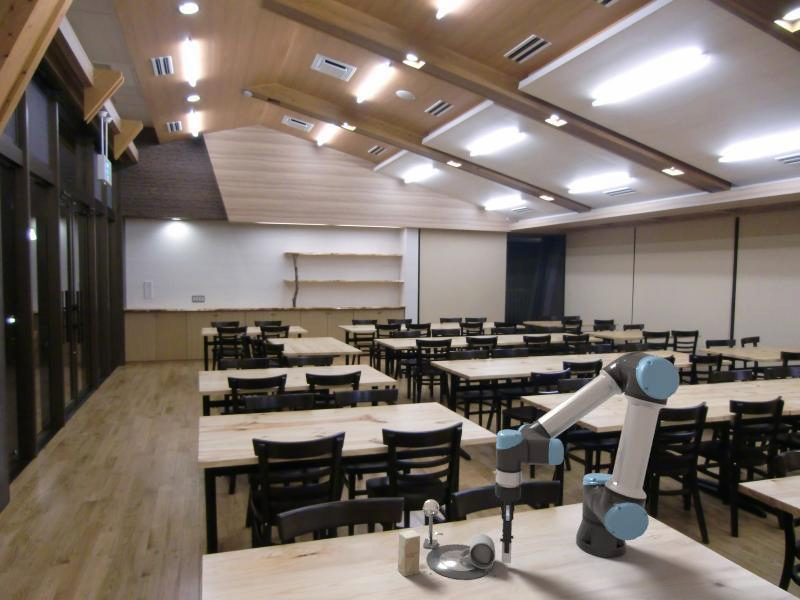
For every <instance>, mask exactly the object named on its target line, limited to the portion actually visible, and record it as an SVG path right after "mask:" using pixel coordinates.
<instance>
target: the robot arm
mask: <svg viewBox="0 0 800 600" xmlns="http://www.w3.org/2000/svg"><path fill="white" fill-rule="evenodd" d="M679 385H680V374H679V371H678V369H677V367H676V366H675V365H674V363H672V362H671V361H670V360H668V359H666V358H664V357H662V356H658V355H656V354H655V355H654V354H650V353H647V352H646V353H645V352H643V351H630V352H628V353H625V354H622V355H621V356H618V357H617V358H616V359H614V360H613V361H611V362H610V363H609V364H607V365H605V366H604V367H603V368H601V369H600V370H599V374H598V375H597V376H596V377H594V378H593V379H592V380H590V381H589V382H588V383H586V384H585V385H584V386H582V387H581V388H580V389H578V390H577V391H575V392H574V393H573V394H571V395H570V396H568V397H567V398H565V400H563V401H562V402H560V403H559V404H558V405H556V406H554V407H553V408H552V409H551V410H549V411H548V412H546V413H545V414H544V415H542V416H541V417H540V418H538V419H536V420H535V421H534V422H532V423H526V424H523V425H521V426H520V427H518V430H515V429H501V430H499V431H498V432H497V435H496V444H495V449H496V450H495V470H493V475H495V484H494V485H495V486H494V490H495V491H494V495H495V497H497V498H498V499H499V500H500V511H501V519H502V531H501V532H502V534H501V536H502V538H501V537H500V538H499V542H501V563H502V564H503V563H505V564H512V542H513V541H512V540H514V535H512V532H513V531H512V530H513V528H512V526H513V520H514V512H515V507H516V505H515V501H517V500H520V499H521V497H522V486H521V484H522V477H523V476H522V475H523V474H522V471H523V470H522V465H536V466H537V465H543V466H545V465H547V466H556V465H561V464H562V463H563V461H564V459H565V457H564V456H565V451H564V444H563V442H562V441H561V439H559V438H556V437H558V436H559V435H561V434H562V433H563V432H564V431H566V430H567V429H569V428H570V427H572V426H573V425H574V424H576V423H577V422H578V421H580V420H581V419H582V418H584V417H586V416H587V415H588V414H590V413H591V412H593V411H594V410H596V409H597V408H598V407H600V406H601V405H603V404H604V403H605V402H607V401H608V400H609V399H611V398H612V397H614V396H616V395H620V396H621V395H623V394H624V397H625V399H626V400H627V405H626V411H625V415H624V419H623V420H624V421H623V424H622V427H621V428H622V429H621V433H620V438H619V443H618V448H617V452H616V456H615V461H614V467H613V472H612V474H610V473H601V472H597V473H595V472H593V473H587V474H585V475H584V476H583V479H582V480H583V481H582V483H581V484H582V485H581V486H582V506H581V507H582V512H581V513H582V515H581V516H582V518H581V521H580V525H579V527H578V530H577V533H576V535H575V543H576V545H577V547H578V548H580V550H582V551H583V552H586V553H589V554H591V555H594V556H597V557H601V558H617V557H621V556H624V555H625V554H626V552H627V542H626V541H633V540H636V539H637V538H639V537H642V535H644V534H645V532H646V531H647V530H648V526H649V523H650V521H649V520H650V519H649V515H648V513H647V511H646V509H645V506H646V502H647V501H646V500H647V494H646V492H645V491H644V489H643V487H644V481H645V478H646V472H647V469H648V463H649V458H650V454H651V449H652V447H653V446H652V445H653V439H654V436H655V431H656V427H657V422H658V417H659V414H660V410H661V409H663V408H665V407H667V404H668V400H669V398H670V397H671V396H672V395H674V394H675V393H676V392H677V390H678V389H679Z"/></svg>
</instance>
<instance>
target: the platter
mask: <svg viewBox="0 0 800 600" xmlns="http://www.w3.org/2000/svg"><path fill="white" fill-rule="evenodd" d="M470 546H471V545H467V544H456V543H455V544H451V543H450V544H444V545H440V546H436V548H435V549H433V548H432V549H431V550H430V551H429V552H428V554H427V555H426V564H427V566H428V567H429V568H430V569H431V570H432V571H433V572H434V573H436V574H438V575H440V576H443V577H445V578H449V579H454V580H474V579H479V578H482V577H484V576H487V574H489V573H490V572H491V571H492V569H493V566H494V564H493V565H492V566H491V567H489V568H486V569H480V568H477V567H476V566H474V565H473V564H472V562H471V561H470V562H461V560H460V558H459V555H460V553H461V552H462V551H464V550H466V549H468V548H470ZM466 556H469V554H468V555H465V556H464V557H466Z"/></svg>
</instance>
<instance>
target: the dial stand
mask: <svg viewBox="0 0 800 600" xmlns="http://www.w3.org/2000/svg"><path fill="white" fill-rule="evenodd" d="M422 511H423V514H424V515H425V516H426V517H428V538H425V539H424V541H423V545H422V547H423V548H425V549H432V550H433V549H435V548H437V547H438V546H437V545H438V539H433V535H437V536H438V535H439V536H444V533H443V532H435V531H433V529H434V528H433V527H434V526H433V525H434V522H433V521H434V518H435V517H437V515H438V514H439V511H440V505H439V502H438V501H436V500H435V499H427V500H426V501H424V504H423V507H422Z"/></svg>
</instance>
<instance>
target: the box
mask: <svg viewBox="0 0 800 600" xmlns="http://www.w3.org/2000/svg"><path fill="white" fill-rule="evenodd" d="M397 551H398V553H397V554H398V555H397V556H398V558H397V571H399V573H400V574H401V575H402V576H404V577H408V576H413V575H416V574H419V573H420V558H421V557H420V551H421V535H420V534H419V533H418V532H417V531H416V530H414V529H411V530H405V531H401V532H399V533H398V550H397Z"/></svg>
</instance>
